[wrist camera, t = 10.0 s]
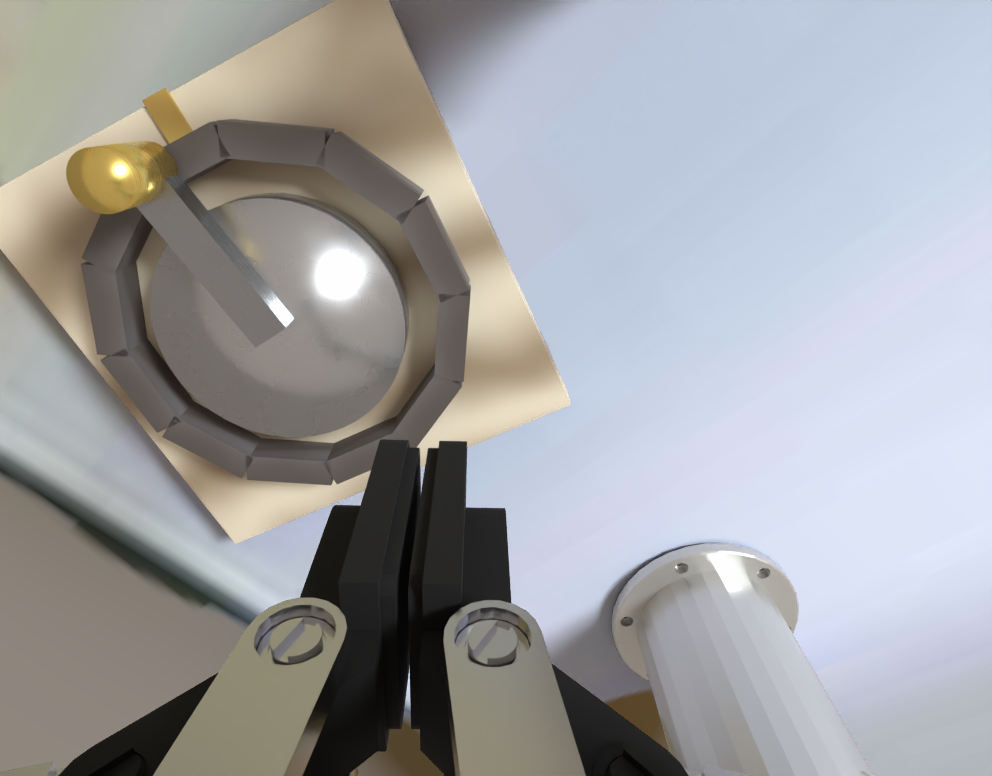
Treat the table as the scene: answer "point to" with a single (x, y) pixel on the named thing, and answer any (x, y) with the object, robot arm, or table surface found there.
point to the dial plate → (337, 182)
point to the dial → (259, 295)
